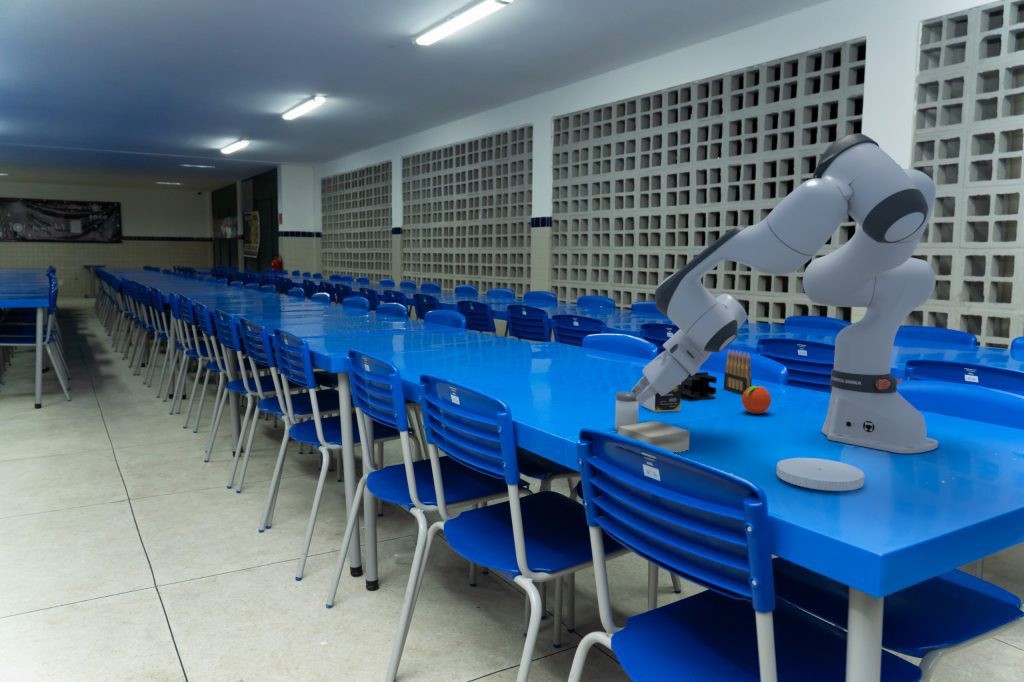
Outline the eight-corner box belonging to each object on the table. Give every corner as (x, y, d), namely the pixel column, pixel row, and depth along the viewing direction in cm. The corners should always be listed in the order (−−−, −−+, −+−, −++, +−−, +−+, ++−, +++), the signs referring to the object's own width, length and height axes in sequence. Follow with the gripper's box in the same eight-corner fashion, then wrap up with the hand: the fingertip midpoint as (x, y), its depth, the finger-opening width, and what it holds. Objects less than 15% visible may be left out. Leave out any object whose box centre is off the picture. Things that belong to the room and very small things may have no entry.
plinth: (688, 450, 145) (689, 430, 145) (651, 457, 140) (652, 437, 139) (654, 439, 154) (654, 420, 153) (617, 445, 148) (618, 426, 148)
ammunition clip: (723, 389, 211) (724, 348, 210) (728, 389, 212) (730, 348, 210) (745, 396, 201) (747, 353, 200) (751, 396, 202) (753, 353, 200)
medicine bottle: (654, 412, 180) (656, 364, 178) (642, 406, 187) (643, 360, 185) (680, 410, 182) (682, 363, 180) (667, 405, 189) (668, 359, 187)
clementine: (758, 418, 174) (759, 389, 173) (732, 413, 179) (734, 385, 179) (776, 414, 179) (777, 385, 178) (751, 409, 184) (752, 381, 184)
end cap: (699, 394, 204) (700, 370, 203) (717, 398, 198) (718, 374, 197) (671, 397, 200) (672, 372, 199) (688, 401, 193) (689, 376, 193)
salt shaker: (642, 430, 162) (643, 394, 161) (625, 432, 159) (626, 397, 158) (627, 425, 166) (628, 391, 165) (610, 428, 163) (611, 393, 162)
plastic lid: (767, 486, 124) (767, 472, 124) (786, 466, 136) (787, 453, 135) (856, 502, 116) (857, 487, 116) (869, 480, 128) (870, 466, 128)
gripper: (665, 339, 169) (622, 379, 171) (679, 350, 149) (629, 395, 151) (684, 358, 169) (640, 398, 171) (700, 372, 149) (650, 417, 151)
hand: (635, 397), depth 161 cm, fingers open, 8 cm apart
